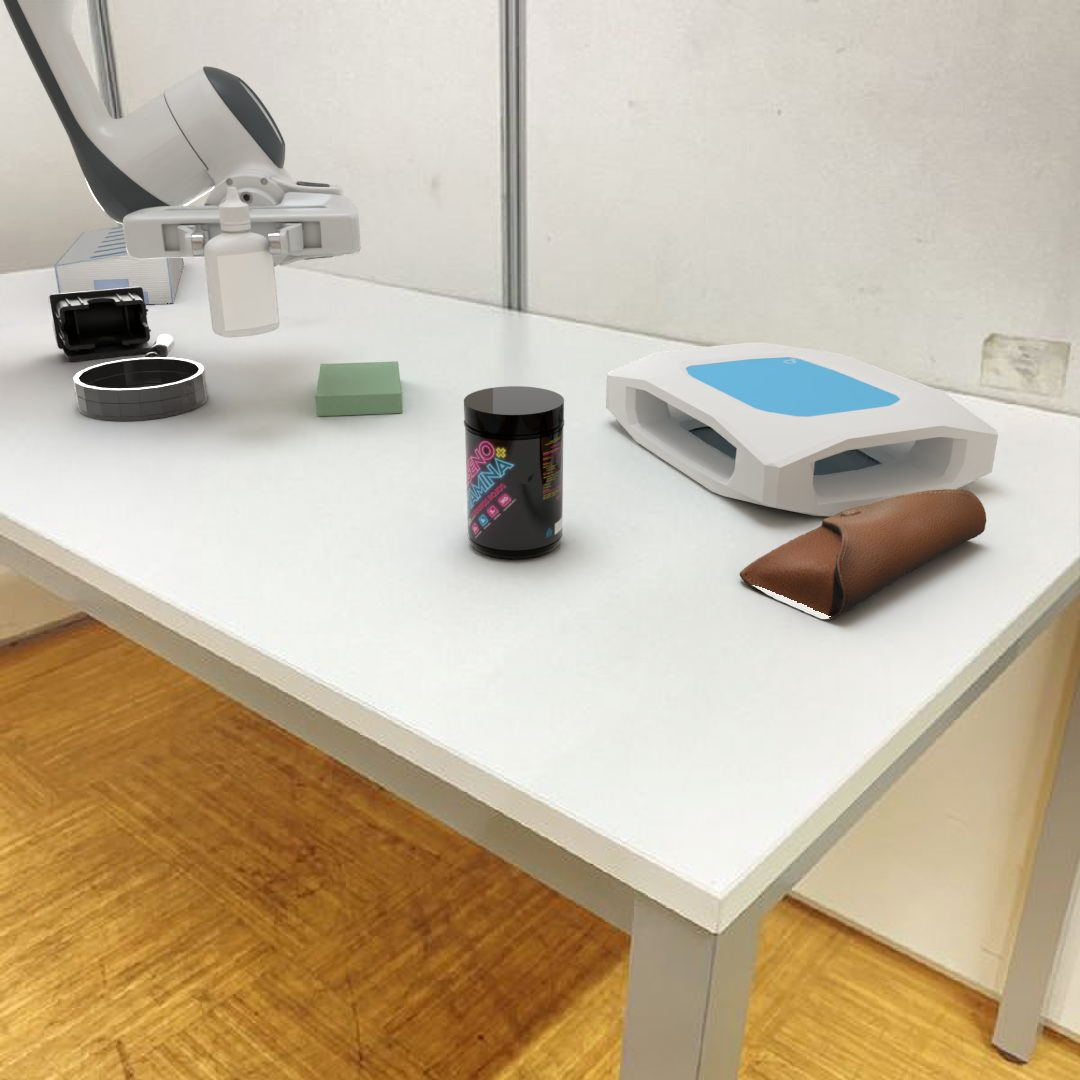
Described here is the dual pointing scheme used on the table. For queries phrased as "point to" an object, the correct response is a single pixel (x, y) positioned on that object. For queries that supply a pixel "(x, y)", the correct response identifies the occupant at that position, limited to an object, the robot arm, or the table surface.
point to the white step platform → (798, 425)
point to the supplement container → (514, 470)
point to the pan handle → (161, 347)
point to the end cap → (100, 323)
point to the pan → (140, 389)
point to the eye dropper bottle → (240, 275)
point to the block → (358, 389)
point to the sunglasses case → (867, 548)
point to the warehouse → (116, 268)
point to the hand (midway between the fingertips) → (236, 245)
